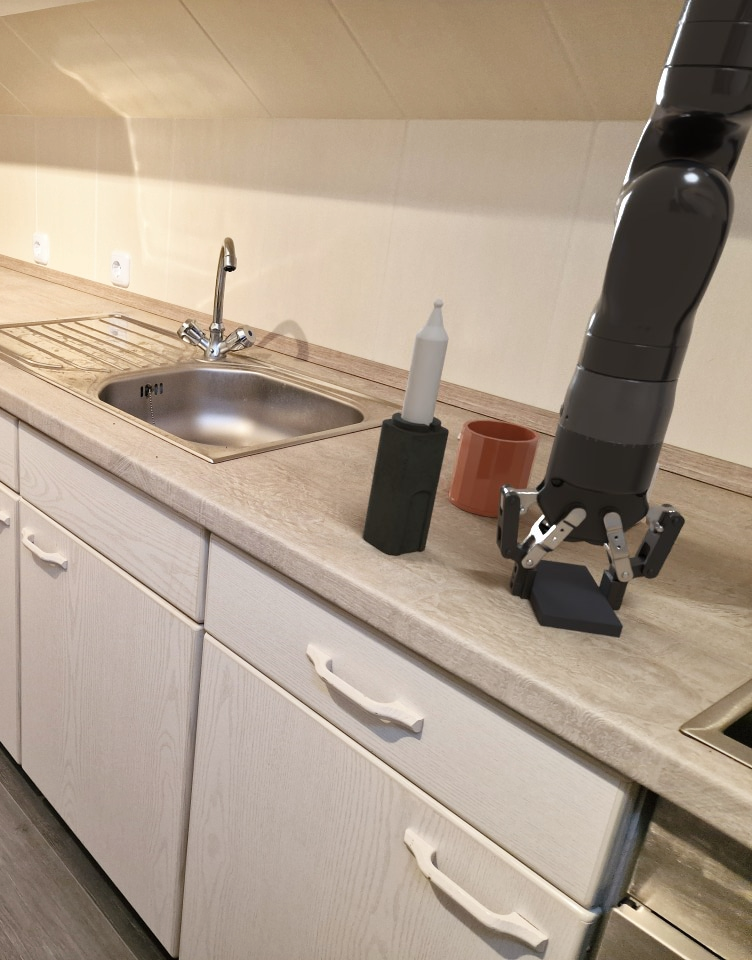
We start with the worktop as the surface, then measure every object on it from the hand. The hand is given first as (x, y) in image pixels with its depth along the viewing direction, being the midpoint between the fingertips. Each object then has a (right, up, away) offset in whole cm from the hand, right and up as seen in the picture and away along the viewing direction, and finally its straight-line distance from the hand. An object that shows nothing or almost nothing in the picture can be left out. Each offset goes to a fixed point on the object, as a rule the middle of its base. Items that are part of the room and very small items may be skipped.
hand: (560, 606), depth 75 cm
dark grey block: (0, -1, 0) cm, 1 cm away
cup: (+4, +8, +24) cm, 26 cm away
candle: (-10, +4, +13) cm, 17 cm away
